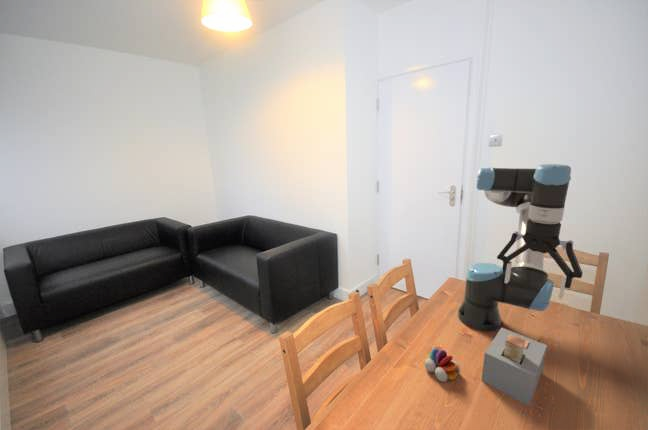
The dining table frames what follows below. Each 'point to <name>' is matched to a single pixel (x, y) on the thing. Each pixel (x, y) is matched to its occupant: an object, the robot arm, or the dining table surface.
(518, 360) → the peg
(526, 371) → the socket block
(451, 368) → the rainbow disc toy
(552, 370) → the dining table surface
